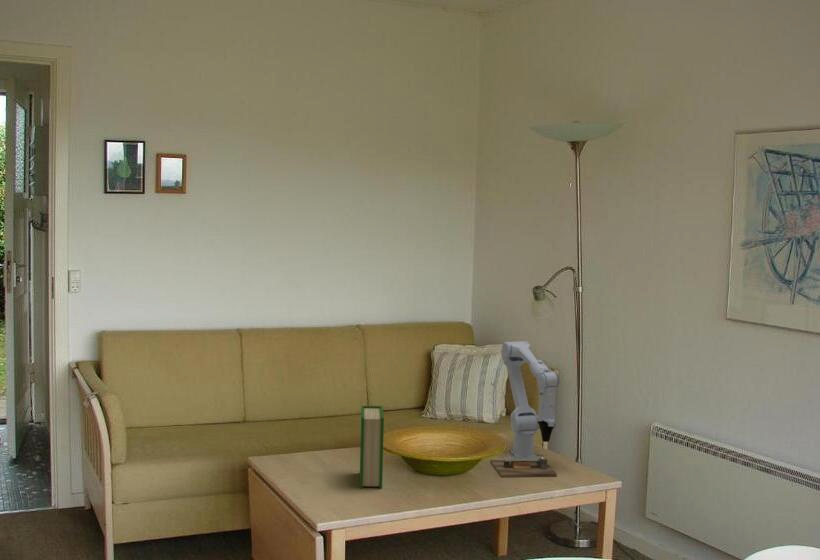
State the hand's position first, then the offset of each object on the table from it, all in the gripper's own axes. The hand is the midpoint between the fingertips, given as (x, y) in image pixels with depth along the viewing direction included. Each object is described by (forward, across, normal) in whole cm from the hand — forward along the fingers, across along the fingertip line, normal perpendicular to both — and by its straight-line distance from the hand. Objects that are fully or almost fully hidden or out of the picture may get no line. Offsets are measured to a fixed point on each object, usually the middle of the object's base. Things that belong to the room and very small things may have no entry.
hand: (545, 441), depth 328 cm
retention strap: (+6, +4, -9) cm, 11 cm away
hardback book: (+10, +16, -65) cm, 67 cm away
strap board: (+9, +4, -9) cm, 14 cm away
